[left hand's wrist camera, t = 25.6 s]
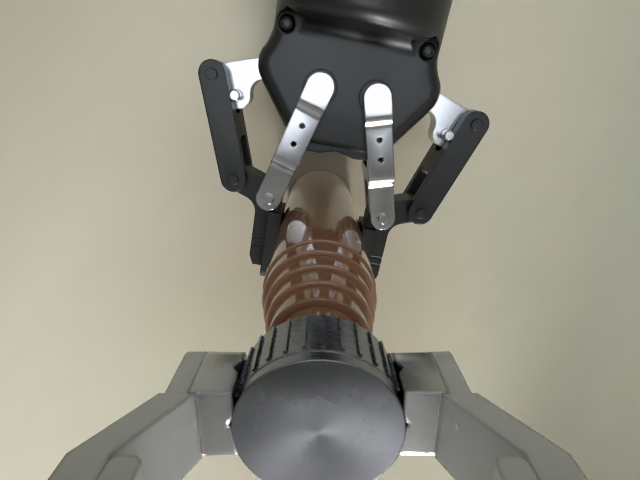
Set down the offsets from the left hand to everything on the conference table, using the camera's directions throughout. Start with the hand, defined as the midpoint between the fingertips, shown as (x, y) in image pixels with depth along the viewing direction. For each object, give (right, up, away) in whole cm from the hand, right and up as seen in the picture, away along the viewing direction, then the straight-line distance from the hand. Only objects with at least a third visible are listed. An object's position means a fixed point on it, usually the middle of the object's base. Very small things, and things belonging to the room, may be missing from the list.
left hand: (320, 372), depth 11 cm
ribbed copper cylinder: (0, +6, +17) cm, 18 cm away
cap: (0, -1, -2) cm, 2 cm away
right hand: (0, +1, +12) cm, 12 cm away
